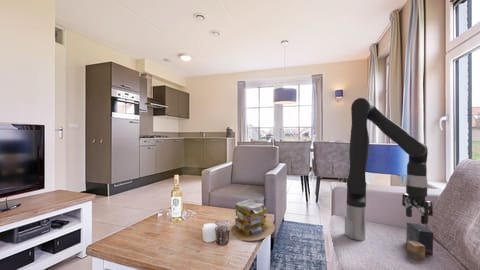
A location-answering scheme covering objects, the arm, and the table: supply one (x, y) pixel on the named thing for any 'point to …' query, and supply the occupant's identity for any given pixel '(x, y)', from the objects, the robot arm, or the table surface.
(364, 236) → the robot arm
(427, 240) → the small box
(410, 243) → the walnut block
